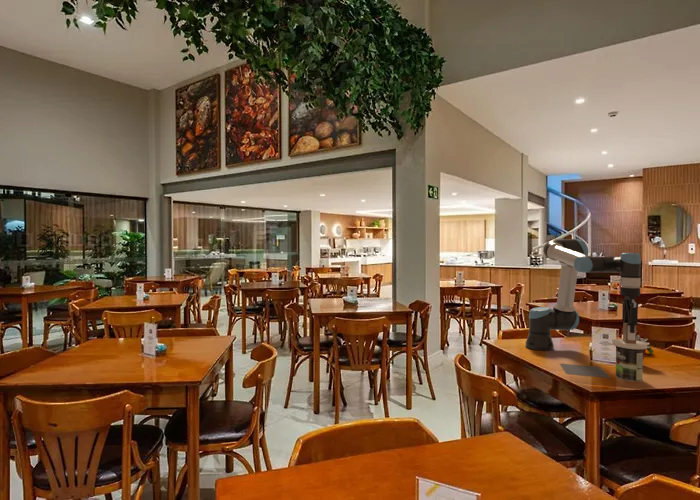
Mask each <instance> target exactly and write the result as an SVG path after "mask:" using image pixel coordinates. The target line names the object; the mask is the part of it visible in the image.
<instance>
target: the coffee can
mask: <svg viewBox="0 0 700 500" xmlns="http://www.w3.org/2000/svg"><path fill="white" fill-rule="evenodd" d="M643 362H644V359H643V349H641V350H638V349H627V348H621V347H617V346H615V377H616V378H617V379H620V380H623V381H628V382H643V381H644V380H643V374H644V373H643V370H644V369H643V368H644V367H643V366H644V364H643Z"/></svg>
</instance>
